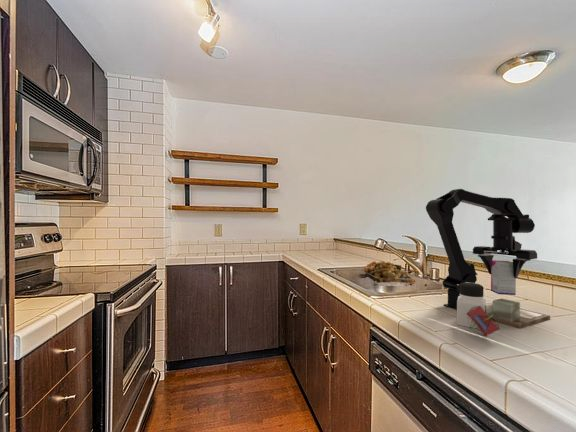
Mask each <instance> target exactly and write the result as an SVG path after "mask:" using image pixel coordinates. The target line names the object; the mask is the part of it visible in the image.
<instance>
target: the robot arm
mask: <svg viewBox="0 0 576 432" xmlns="http://www.w3.org/2000/svg"><path fill="white" fill-rule="evenodd" d="M460 203H465V204H468V205H471V206H476V207H480V208H483V209H485V210H486V211H487V212H489V213H491V214H492V215H490V216H488V218H487V220H488V221H492V226H493V227H492V232H493V234H492V235H491V236H490V239H492V241H493V242H492V245H493V246H485V245H478V246H477V245H475V246H474V247H473V248H472V254H473V255H477V257H479V259H481V261H482V262H483V264H484V266H485V268H486V269H487V272H488V274H489V275H491V260H494V255H501V256H510V257H511V256H512V257H515V258H513V259H512V262H513V274H514V278H516V279H517V278H518V277H519V275H520V273H521V270H522V268H523V266H524V264H525V263H526V262H529V261H531V260H537V259H538V253H537V251H536V250H534V249H522V243H520V242H519V241H517V240H516V237H515V235H513V234H528V233H532V232H533V231H534V230H535V226H536V225H535V222H534V220H533V219H532V218H530V215H529V214H523V212H522V211H521V210H520V208H519V207H518V205H517V203H516V201H515V200H514V198H511V197H510V198H509V197H492V196H488V195H484V194H480V193H477V192H472V191H468V190H466V189H463V188H456V189H452V190H450V191H448V192H447V193H445V194H443V195H441V196H440V197H438V198H435V199H431V200H429V201H428V202H427V204H426V205H425V210H426V212H427V215H428V216H429V218H430V220H432V222H433V223H434V224H435V225H436V228H437V229H438V232H439V235H440V237H441V241H442V244H443V246H444V247H443V248H444V250H445V254H446V256H447V259H448V262H449V264H448V268H447V271H448V275H447V276H446V277H445V278H444V279H443V281H442V285H443V288H446V289H447V303H444V304H443V306H444V307H446V308H450V309H454V310H457V300H458V296H460V284H461V283H465V282H469V283H477V281H478V277H477V276H478V273H477V272H476V271H477V270H476V267H475V264H474V263H471V262H467V261H466V259H465V256H464V254H463V251H462V248H461V245H460V242H459V239H458V236H457V233H456V230H455V226H454V224H453V219H454V214H455V213H454V209H455V208H456V207H458V206H459V205H460Z"/></svg>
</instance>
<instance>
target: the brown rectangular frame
mask: <svg viewBox="0 0 576 432" xmlns="http://www.w3.org/2000/svg"><path fill="white" fill-rule="evenodd" d="M520 303H521V302H519V301H514V300H510V299H506V298H498V299H494V300H492V312H491V313H490V312H488V313H489V314H490V315H493V314H495V313H496V314H495V315H494V316H495V317H494V316H493V318H492V319H491V320H492V321H493V322H496V323H500V324H504V325H508V326H511V327H514V328H517V329H522V328H525V327H528V326H532V325H535V324H537V323H541V322H544V321H547V320H550V319H551V315H550V314H546V313H541V312H538V311H532V310H529V309H524V308H520V307H521V304H520ZM488 313H486V314H487V315H488V316H490V315H489V314H488ZM493 319H494V320H495V321H494V320H493ZM497 320H498V321H497Z"/></svg>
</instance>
